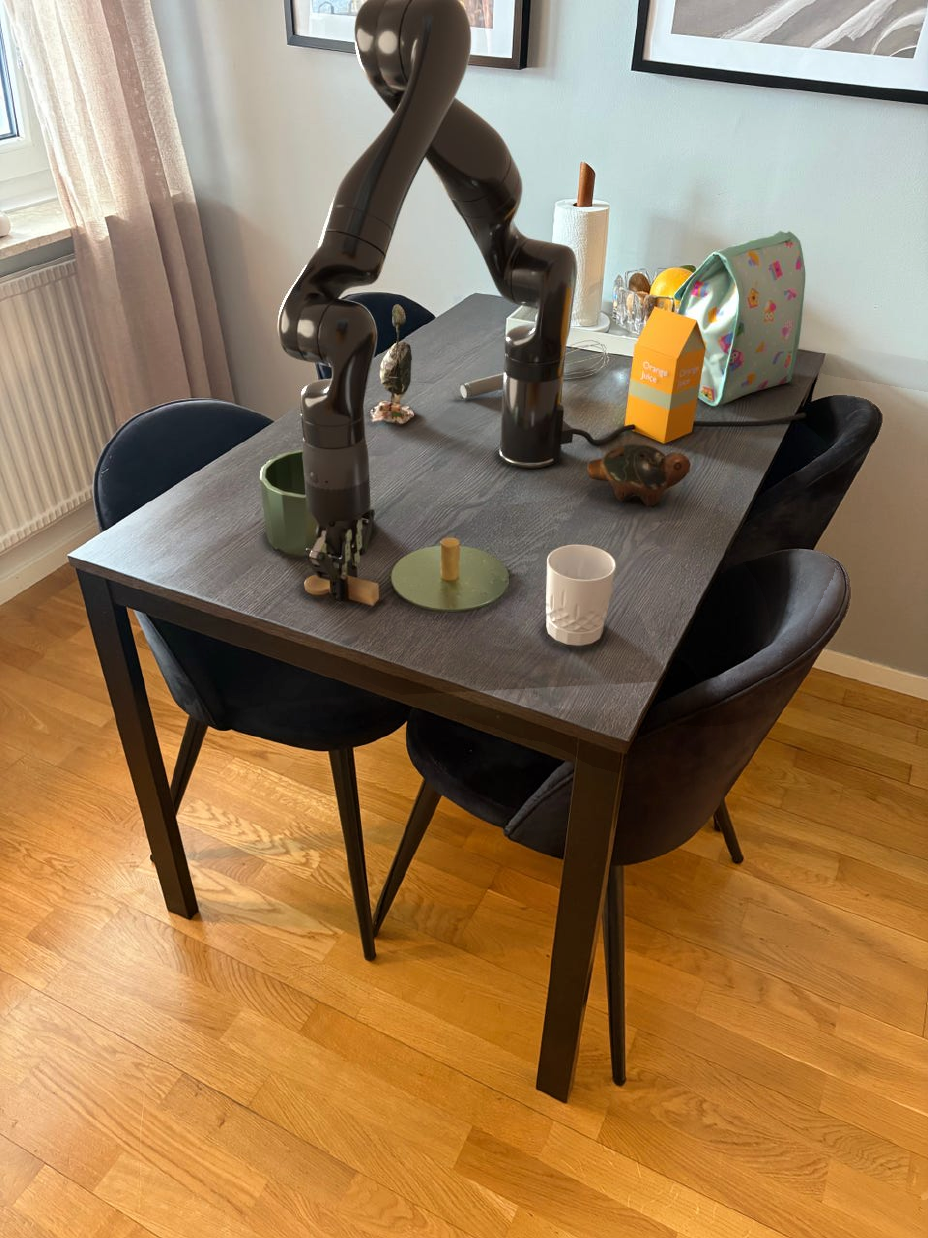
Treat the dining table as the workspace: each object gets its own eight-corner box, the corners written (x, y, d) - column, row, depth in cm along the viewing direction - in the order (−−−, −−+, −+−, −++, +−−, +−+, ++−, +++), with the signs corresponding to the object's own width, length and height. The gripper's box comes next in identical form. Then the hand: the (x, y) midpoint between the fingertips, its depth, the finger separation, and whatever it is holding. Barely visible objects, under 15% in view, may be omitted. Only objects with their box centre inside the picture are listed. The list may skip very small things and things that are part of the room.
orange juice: (663, 444, 159) (682, 324, 148) (623, 426, 165) (638, 310, 153) (692, 431, 164) (712, 314, 152) (652, 415, 169) (669, 301, 157)
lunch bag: (730, 359, 192) (756, 218, 176) (799, 385, 182) (833, 237, 166) (652, 385, 180) (673, 236, 164) (722, 414, 170) (751, 257, 154)
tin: (370, 506, 140) (367, 446, 135) (372, 557, 129) (370, 495, 123) (270, 509, 139) (264, 449, 133) (264, 562, 127) (256, 498, 122)
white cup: (537, 614, 119) (542, 545, 113) (599, 612, 119) (608, 543, 113) (547, 653, 112) (553, 581, 106) (613, 650, 113) (622, 579, 107)
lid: (500, 549, 131) (502, 510, 127) (516, 613, 119) (519, 572, 115) (388, 554, 129) (387, 514, 126) (393, 619, 117) (392, 577, 114)
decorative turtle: (684, 516, 139) (688, 467, 134) (581, 507, 143) (581, 459, 138) (690, 483, 147) (694, 436, 142) (592, 476, 150) (593, 429, 146)
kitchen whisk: (444, 394, 175) (445, 361, 171) (595, 365, 189) (598, 333, 185) (461, 406, 170) (461, 372, 167) (613, 376, 184) (617, 343, 181)
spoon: (383, 597, 121) (382, 579, 119) (368, 613, 118) (368, 594, 116) (315, 579, 124) (313, 560, 123) (299, 593, 121) (297, 575, 120)
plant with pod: (427, 406, 171) (426, 292, 159) (402, 430, 162) (399, 312, 150) (385, 399, 173) (381, 286, 161) (358, 423, 164) (352, 306, 152)
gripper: (334, 504, 104) (343, 632, 115) (392, 454, 115) (396, 576, 125) (276, 490, 107) (289, 616, 117) (338, 442, 117) (346, 562, 127)
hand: (344, 595), depth 121 cm, fingers closed on spoon
